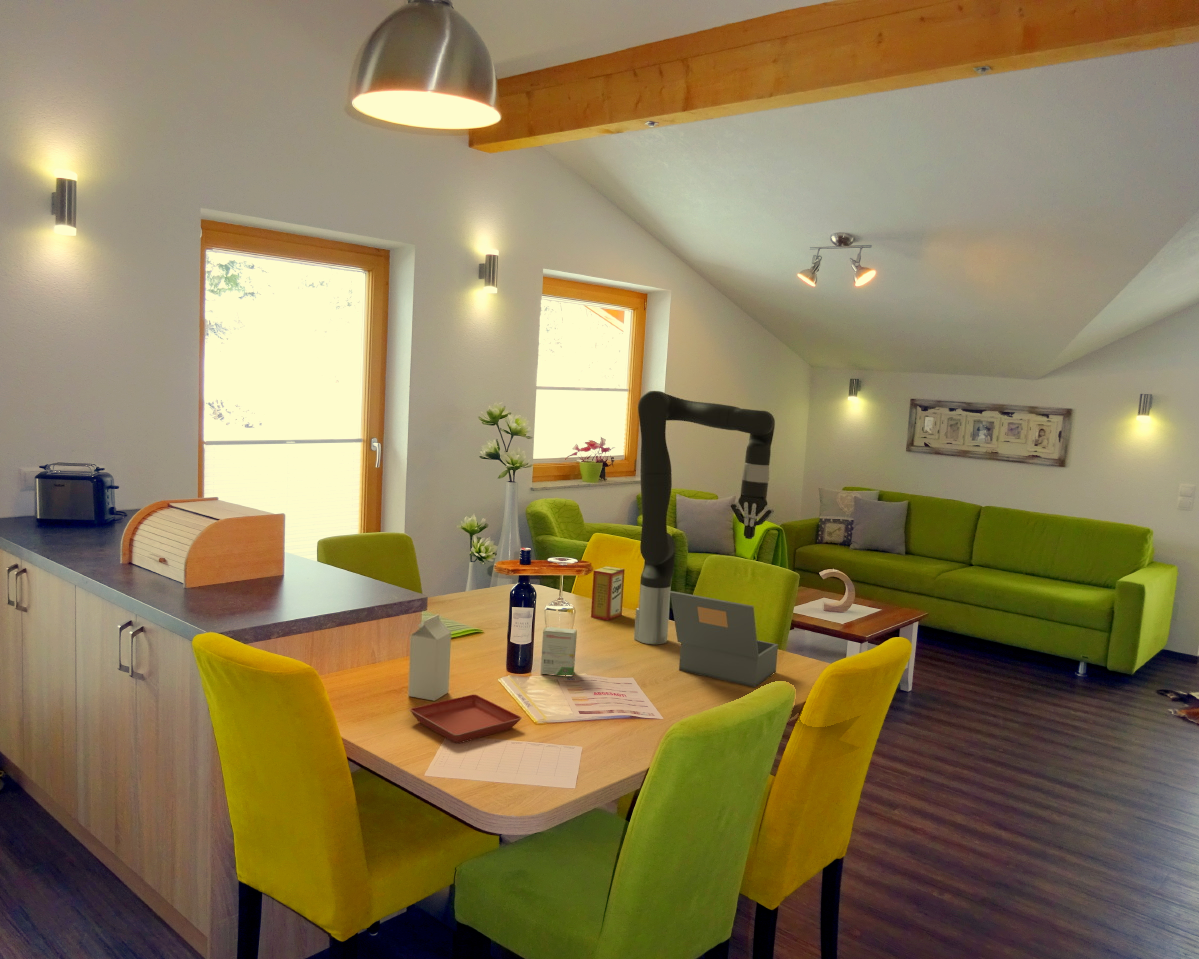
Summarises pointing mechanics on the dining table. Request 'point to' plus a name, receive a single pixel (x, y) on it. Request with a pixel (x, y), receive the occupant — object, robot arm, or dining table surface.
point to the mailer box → (730, 663)
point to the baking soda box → (607, 593)
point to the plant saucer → (465, 718)
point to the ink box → (558, 651)
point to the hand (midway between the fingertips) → (748, 538)
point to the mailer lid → (715, 624)
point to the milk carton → (429, 660)
